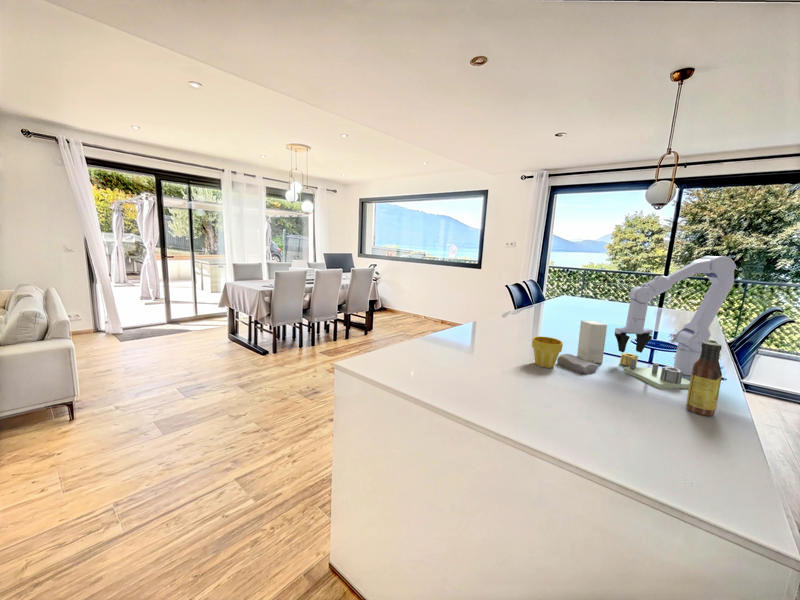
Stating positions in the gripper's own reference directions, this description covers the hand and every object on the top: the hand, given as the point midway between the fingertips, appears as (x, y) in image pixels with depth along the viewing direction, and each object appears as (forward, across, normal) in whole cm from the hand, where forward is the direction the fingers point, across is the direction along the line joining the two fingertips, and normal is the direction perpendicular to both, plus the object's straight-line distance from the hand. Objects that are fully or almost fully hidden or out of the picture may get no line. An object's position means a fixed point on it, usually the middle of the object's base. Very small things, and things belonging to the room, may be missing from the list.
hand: (630, 351), depth 132 cm
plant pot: (+6, +36, +1) cm, 36 cm away
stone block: (+6, +24, +3) cm, 25 cm away
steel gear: (+4, +1, +19) cm, 19 cm away
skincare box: (+6, +13, -6) cm, 15 cm away
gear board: (+5, +1, +14) cm, 15 cm away
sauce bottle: (+6, +10, +37) cm, 39 cm away
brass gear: (+5, 0, 0) cm, 5 cm away
